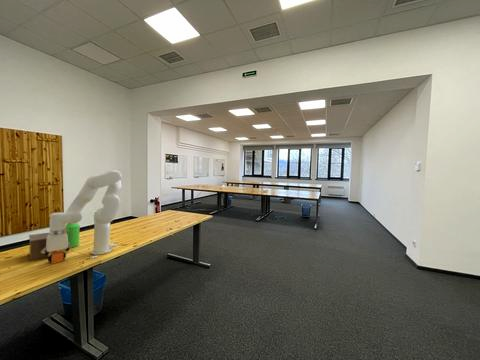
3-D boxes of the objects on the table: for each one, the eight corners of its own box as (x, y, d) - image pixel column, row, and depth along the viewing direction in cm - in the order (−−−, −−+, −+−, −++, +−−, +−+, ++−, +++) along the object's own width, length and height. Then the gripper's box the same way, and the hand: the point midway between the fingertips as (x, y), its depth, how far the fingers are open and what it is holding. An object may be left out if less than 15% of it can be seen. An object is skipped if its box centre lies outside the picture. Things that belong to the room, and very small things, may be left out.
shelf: (54, 249, 142) (54, 231, 142) (57, 256, 131) (57, 236, 131) (28, 254, 132) (29, 235, 132) (29, 261, 122) (30, 240, 122)
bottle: (66, 245, 151) (67, 213, 151) (80, 244, 155) (81, 212, 155) (62, 249, 143) (63, 215, 143) (77, 247, 147) (78, 214, 147)
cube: (62, 258, 128) (62, 250, 128) (63, 261, 124) (63, 252, 124) (50, 260, 124) (50, 252, 124) (51, 263, 120) (51, 254, 120)
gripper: (74, 228, 133) (73, 255, 133) (37, 233, 120) (37, 262, 120) (76, 230, 128) (75, 258, 128) (38, 236, 115) (38, 266, 115)
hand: (57, 260), depth 124 cm, fingers closed on cube, 5 cm apart
